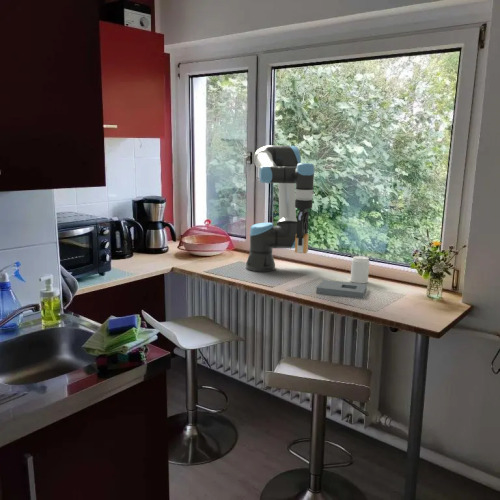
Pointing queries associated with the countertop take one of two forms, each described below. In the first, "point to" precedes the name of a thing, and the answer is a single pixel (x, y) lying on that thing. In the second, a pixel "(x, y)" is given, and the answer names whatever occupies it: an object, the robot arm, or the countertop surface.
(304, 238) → the orange bottle
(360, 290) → the socket block
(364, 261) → the beverage can
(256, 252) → the robot arm
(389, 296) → the countertop surface
